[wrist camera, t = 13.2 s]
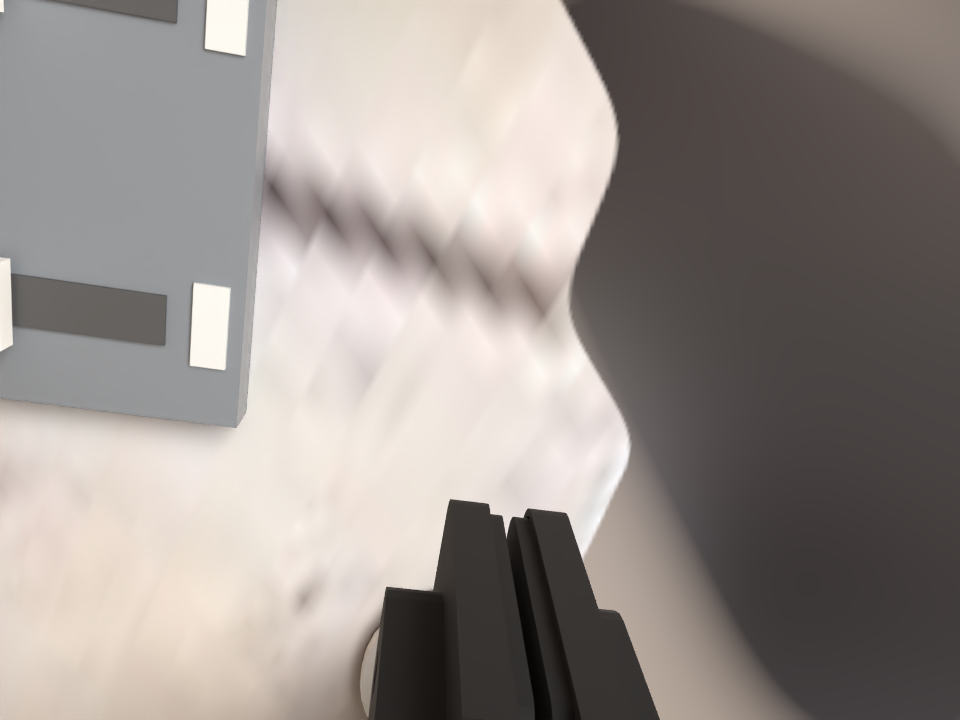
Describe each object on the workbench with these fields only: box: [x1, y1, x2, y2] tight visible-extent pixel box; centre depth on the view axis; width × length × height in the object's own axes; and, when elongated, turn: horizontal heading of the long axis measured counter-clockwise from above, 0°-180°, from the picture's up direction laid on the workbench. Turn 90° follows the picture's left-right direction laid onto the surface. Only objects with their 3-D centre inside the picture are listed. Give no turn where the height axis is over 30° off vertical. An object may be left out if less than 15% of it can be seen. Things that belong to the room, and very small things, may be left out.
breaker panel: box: [0, 0, 277, 428], centre depth 33 cm, size 24×18×2 cm
